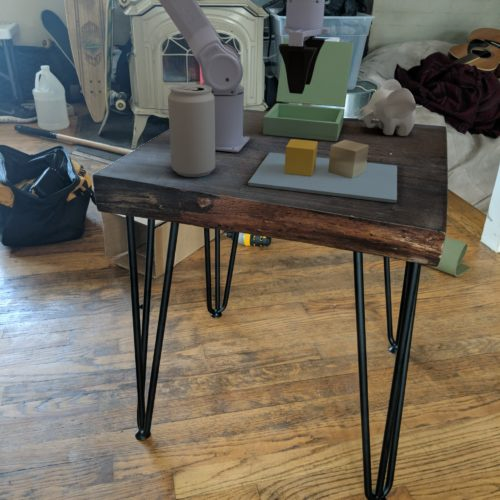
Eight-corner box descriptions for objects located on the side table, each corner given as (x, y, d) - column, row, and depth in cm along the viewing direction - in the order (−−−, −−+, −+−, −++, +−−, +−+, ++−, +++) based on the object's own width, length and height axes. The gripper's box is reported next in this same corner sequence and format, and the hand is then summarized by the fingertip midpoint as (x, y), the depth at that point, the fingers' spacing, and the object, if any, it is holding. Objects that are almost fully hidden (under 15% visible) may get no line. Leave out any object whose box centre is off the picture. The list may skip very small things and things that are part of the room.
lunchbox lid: (353, 42, 97) (353, 46, 100) (283, 38, 100) (286, 42, 103) (344, 106, 98) (345, 109, 101) (276, 100, 101) (278, 103, 104)
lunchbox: (336, 141, 91) (338, 123, 89) (262, 134, 93) (263, 116, 92) (342, 125, 100) (344, 108, 99) (275, 119, 103) (276, 103, 102)
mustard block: (284, 173, 74) (285, 146, 72) (289, 164, 78) (290, 138, 76) (311, 176, 73) (314, 149, 72) (315, 167, 77) (317, 141, 75)
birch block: (328, 172, 75) (330, 145, 73) (341, 165, 78) (344, 139, 76) (352, 178, 73) (355, 151, 71) (365, 171, 76) (369, 145, 74)
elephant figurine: (350, 123, 102) (356, 77, 97) (411, 125, 101) (419, 79, 97) (358, 137, 93) (364, 87, 89) (424, 140, 93) (434, 89, 89)
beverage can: (208, 180, 72) (207, 93, 66) (165, 176, 73) (160, 90, 68) (220, 166, 78) (220, 84, 72) (179, 162, 79) (176, 81, 73)
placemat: (247, 185, 71) (247, 182, 71) (269, 155, 83) (269, 152, 83) (396, 203, 67) (397, 199, 67) (396, 168, 79) (397, 165, 79)
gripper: (327, -2, 70) (318, 99, 77) (337, -6, 83) (329, 82, 89) (276, -4, 72) (272, 96, 78) (294, -7, 84) (289, 79, 91)
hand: (300, 88), depth 84 cm, fingers open, 7 cm apart
